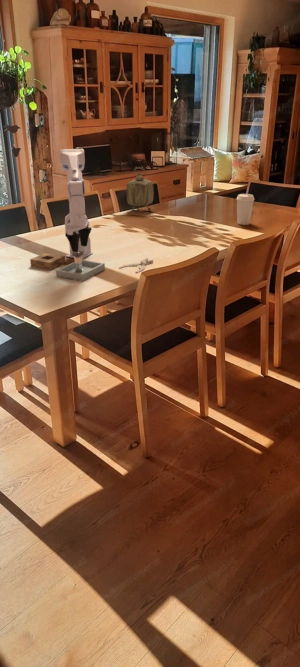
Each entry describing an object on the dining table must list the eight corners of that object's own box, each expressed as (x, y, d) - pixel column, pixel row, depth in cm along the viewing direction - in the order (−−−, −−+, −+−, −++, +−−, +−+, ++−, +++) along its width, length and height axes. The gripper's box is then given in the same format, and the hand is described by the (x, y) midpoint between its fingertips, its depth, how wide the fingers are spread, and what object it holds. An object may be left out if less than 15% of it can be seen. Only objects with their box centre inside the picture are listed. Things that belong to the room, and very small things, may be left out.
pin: (76, 269, 201) (75, 250, 198) (86, 270, 200) (85, 251, 196) (71, 272, 197) (69, 253, 194) (81, 273, 196) (80, 254, 192)
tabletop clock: (153, 210, 300) (153, 167, 289) (147, 213, 292) (147, 169, 281) (131, 208, 305) (131, 165, 294) (125, 211, 298) (124, 167, 287)
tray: (80, 264, 207) (80, 259, 206) (104, 269, 202) (104, 263, 201) (56, 276, 194) (56, 270, 193) (82, 281, 189) (81, 275, 188)
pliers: (118, 265, 203) (140, 256, 214) (118, 269, 204) (141, 260, 214) (136, 270, 198) (159, 260, 208) (136, 274, 198) (159, 264, 209)
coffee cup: (248, 226, 266) (250, 197, 259) (231, 224, 270) (233, 195, 264) (254, 222, 273) (257, 194, 267) (238, 220, 278) (240, 192, 271)
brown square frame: (46, 259, 213) (45, 252, 212) (65, 263, 209) (64, 256, 208) (30, 266, 205) (30, 259, 204) (50, 270, 201) (49, 262, 200)
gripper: (77, 208, 195) (79, 242, 201) (58, 216, 183) (61, 252, 189) (93, 210, 193) (94, 244, 199) (75, 218, 181) (78, 254, 187)
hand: (79, 248), depth 194 cm, fingers open, 7 cm apart
